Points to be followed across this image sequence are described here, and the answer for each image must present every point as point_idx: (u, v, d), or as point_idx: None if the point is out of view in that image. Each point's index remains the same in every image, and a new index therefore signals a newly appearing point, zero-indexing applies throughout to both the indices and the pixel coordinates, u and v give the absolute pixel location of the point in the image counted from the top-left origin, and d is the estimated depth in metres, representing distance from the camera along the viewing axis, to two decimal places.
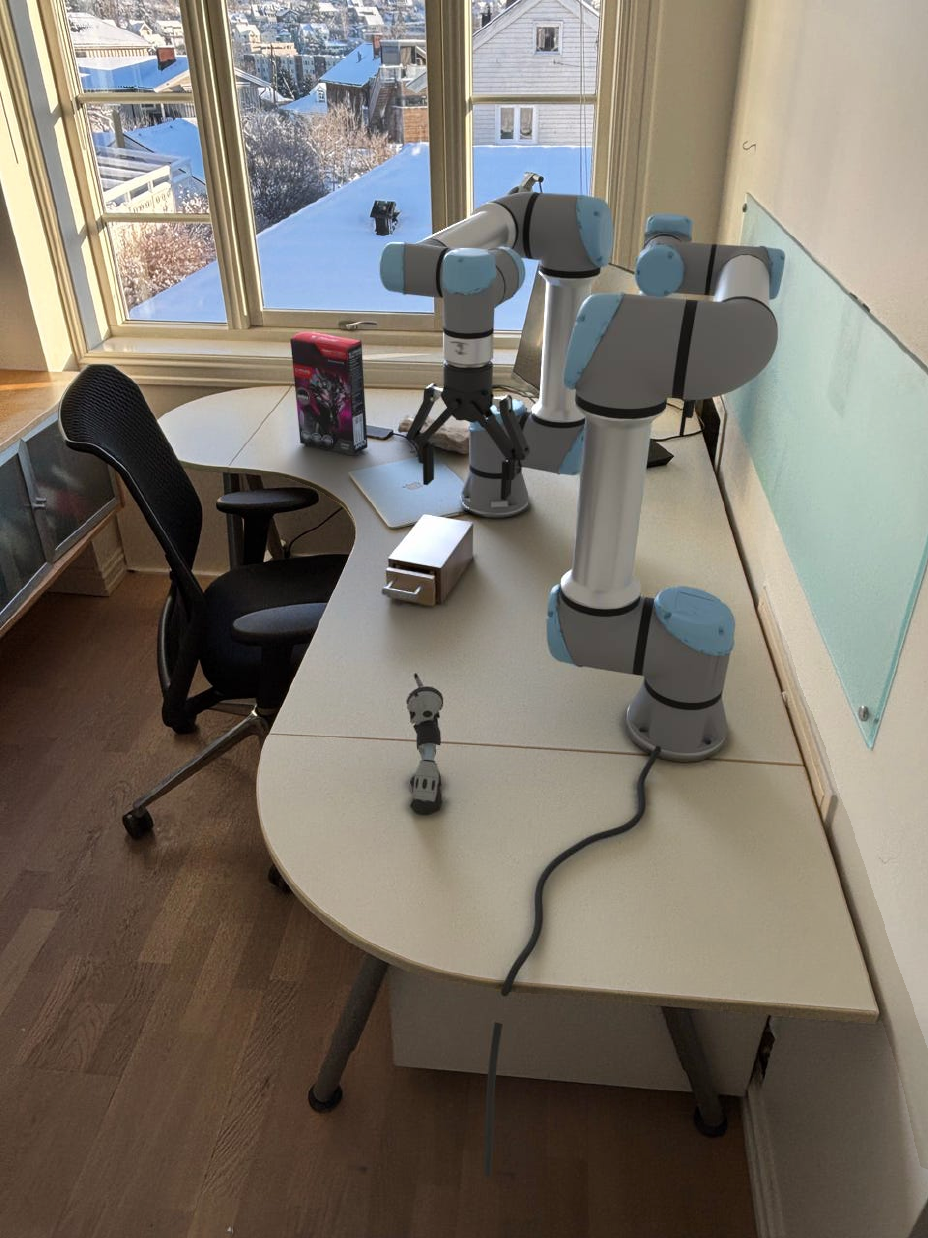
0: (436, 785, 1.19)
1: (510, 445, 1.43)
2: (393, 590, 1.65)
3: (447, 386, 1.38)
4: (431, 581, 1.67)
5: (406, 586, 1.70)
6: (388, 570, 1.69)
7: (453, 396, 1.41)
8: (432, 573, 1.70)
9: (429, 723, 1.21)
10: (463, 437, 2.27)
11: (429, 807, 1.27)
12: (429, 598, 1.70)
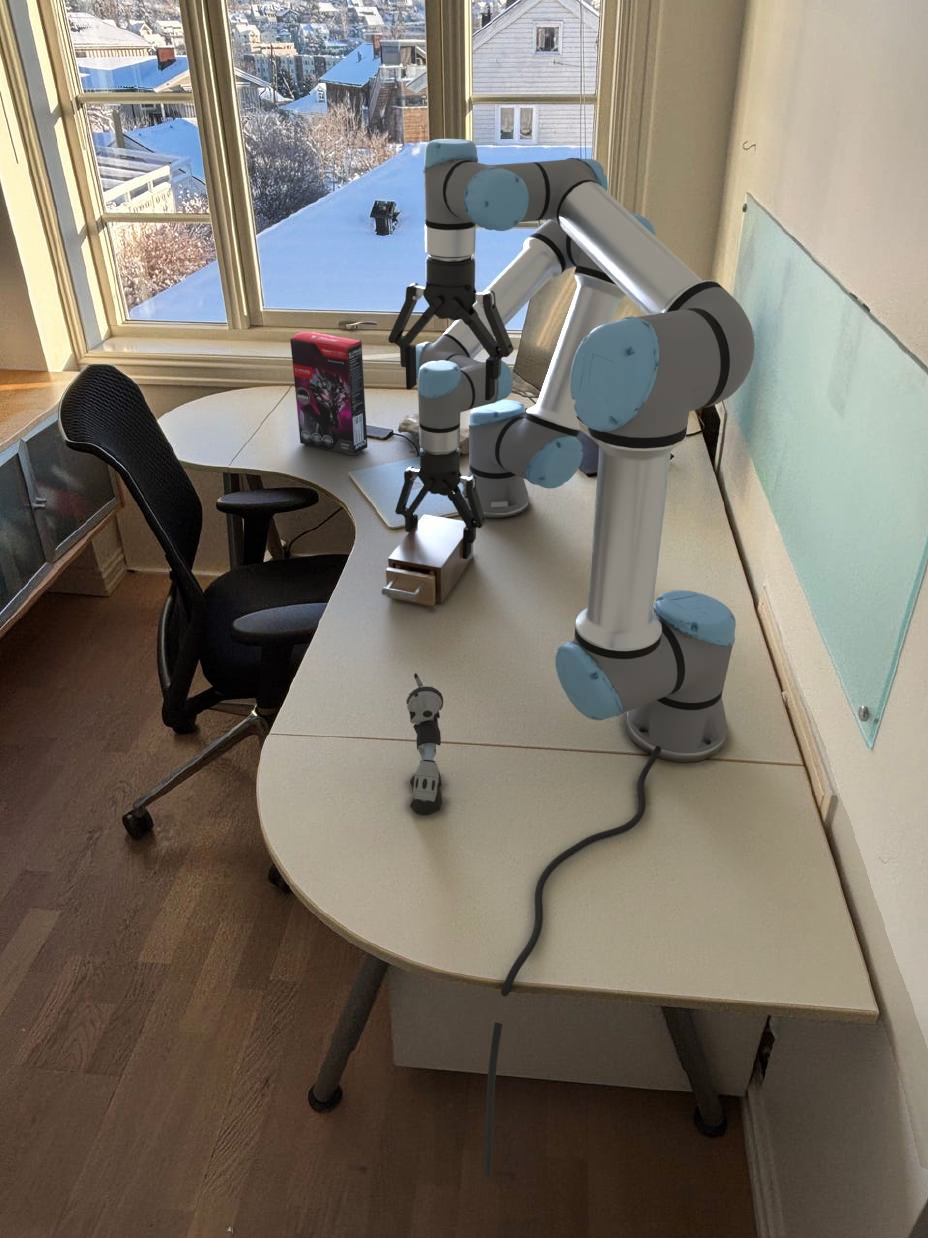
0: (436, 785, 1.19)
1: None
2: (393, 590, 1.65)
3: None
4: (431, 581, 1.67)
5: (406, 586, 1.70)
6: (388, 570, 1.69)
7: None
8: (432, 573, 1.70)
9: (429, 723, 1.21)
10: (463, 437, 2.27)
11: (429, 807, 1.27)
12: (429, 598, 1.70)
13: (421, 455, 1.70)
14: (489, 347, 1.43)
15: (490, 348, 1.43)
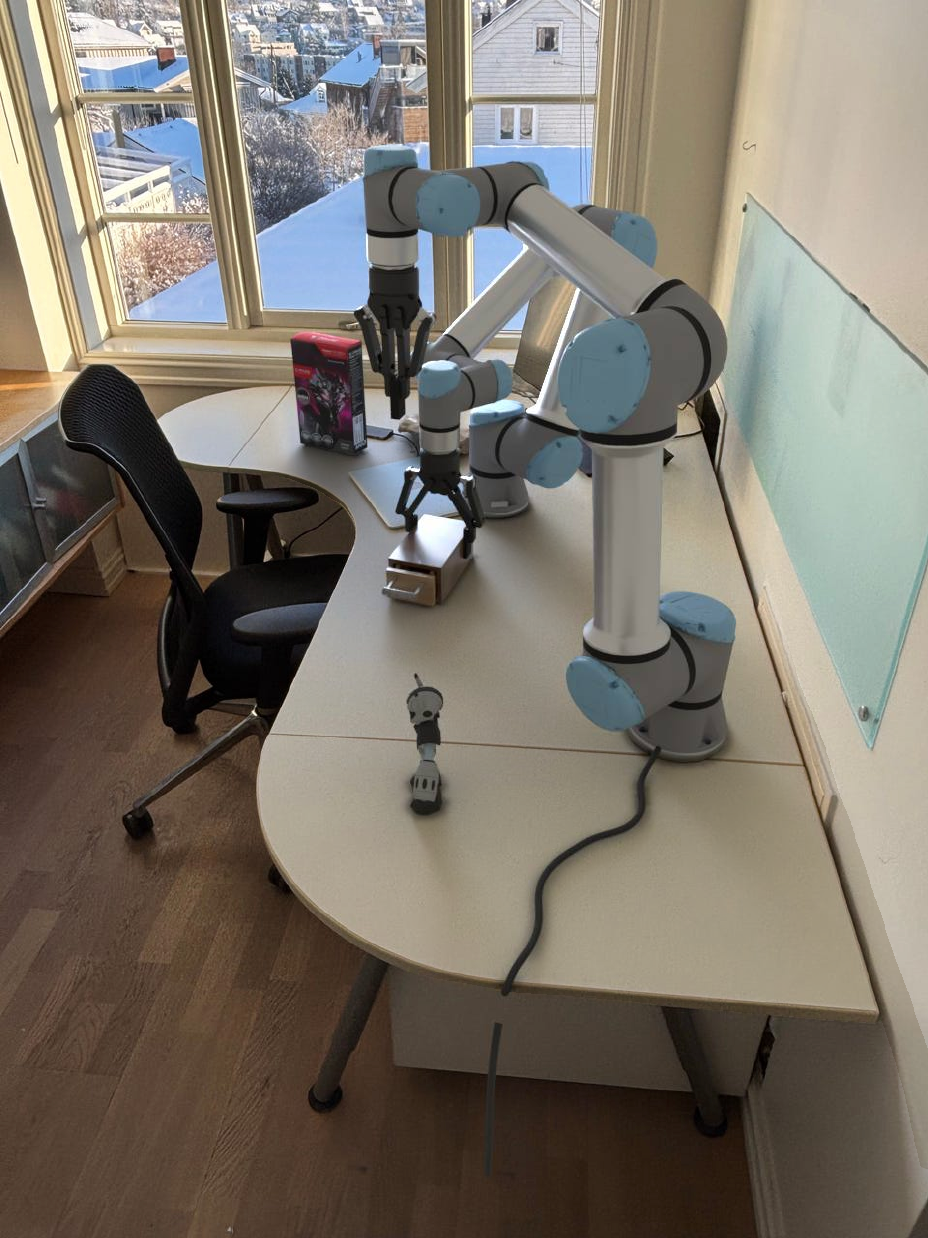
0: (436, 785, 1.19)
1: None
2: (393, 590, 1.65)
3: None
4: (431, 581, 1.67)
5: (406, 586, 1.70)
6: (388, 570, 1.69)
7: None
8: (432, 573, 1.70)
9: (429, 723, 1.21)
10: (463, 437, 2.27)
11: (429, 807, 1.27)
12: (429, 598, 1.70)
13: (421, 455, 1.70)
14: (402, 366, 1.43)
15: (402, 368, 1.43)
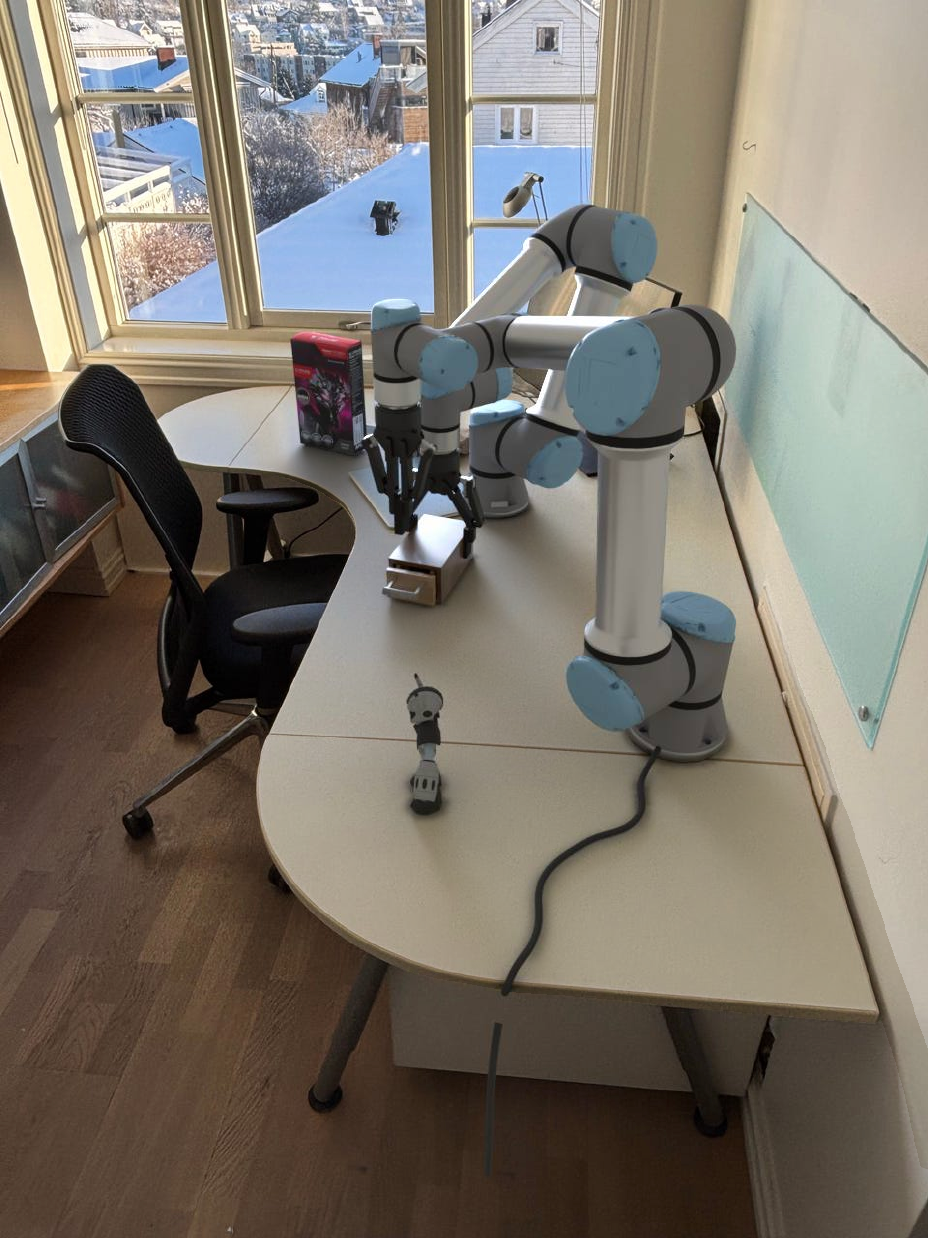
0: (436, 785, 1.19)
1: None
2: (393, 590, 1.65)
3: None
4: (431, 581, 1.67)
5: (406, 585, 1.70)
6: (388, 570, 1.69)
7: None
8: (432, 573, 1.70)
9: (429, 723, 1.21)
10: (463, 437, 2.27)
11: (429, 807, 1.27)
12: (429, 598, 1.70)
13: None
14: (405, 490, 1.54)
15: (405, 491, 1.54)
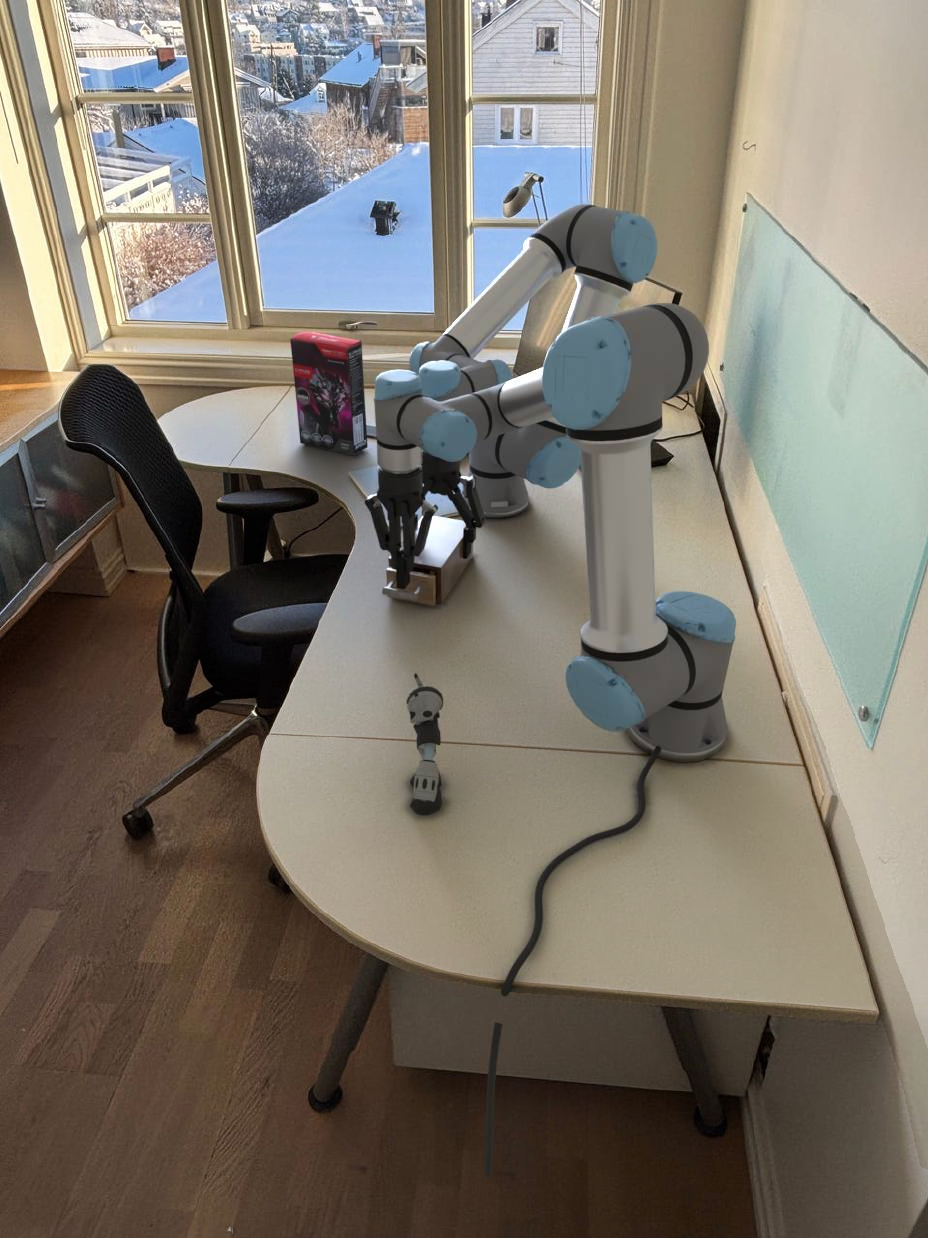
0: (436, 785, 1.19)
1: None
2: (393, 590, 1.65)
3: None
4: (431, 581, 1.67)
5: None
6: (388, 570, 1.69)
7: None
8: (432, 573, 1.70)
9: (429, 723, 1.21)
10: None
11: (429, 807, 1.27)
12: (429, 598, 1.70)
13: None
14: (407, 547, 1.61)
15: (407, 548, 1.61)
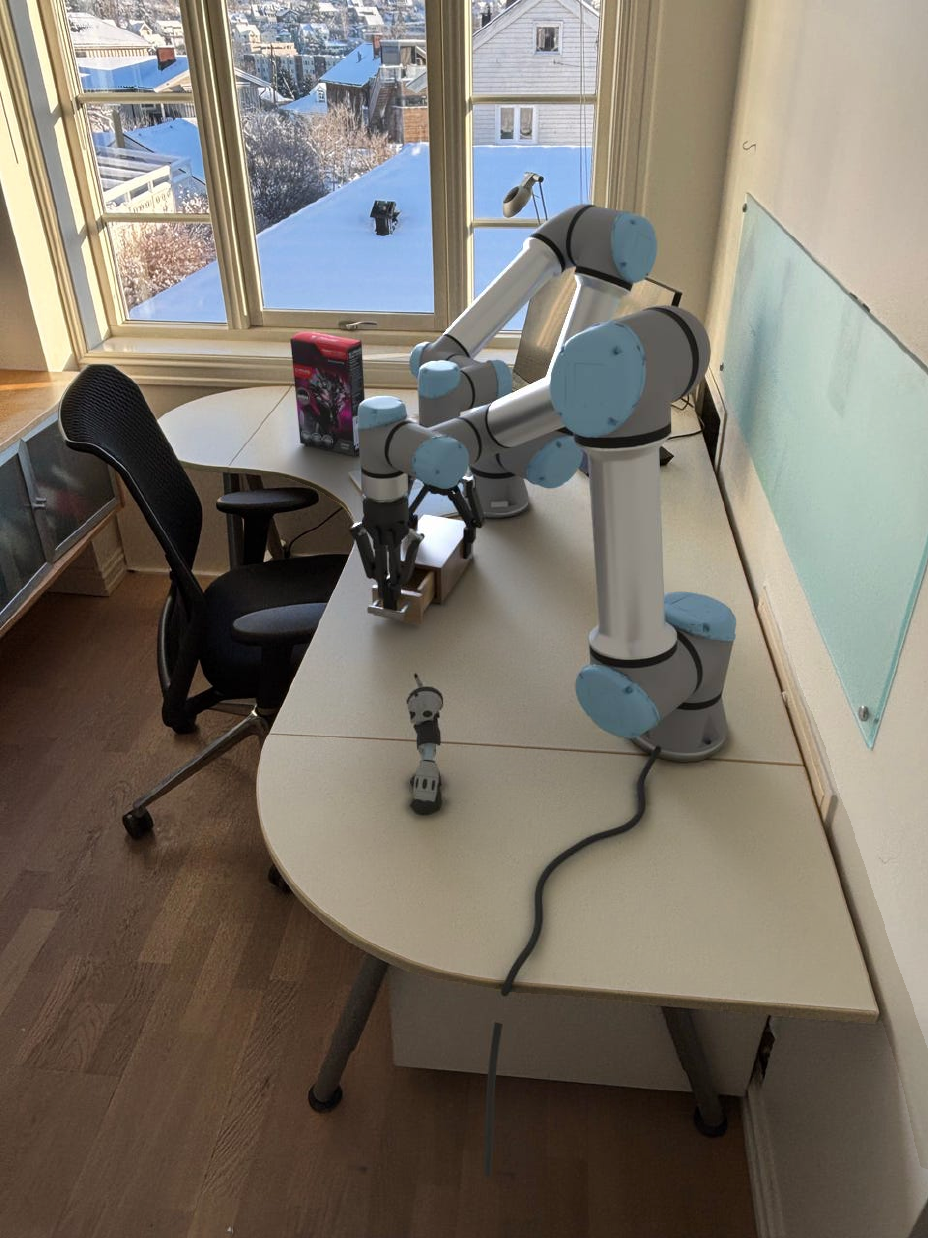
0: (436, 785, 1.19)
1: None
2: (379, 609, 1.60)
3: None
4: (418, 599, 1.62)
5: None
6: (374, 588, 1.64)
7: None
8: (419, 591, 1.64)
9: (429, 723, 1.21)
10: None
11: (429, 807, 1.27)
12: (416, 616, 1.64)
13: None
14: (394, 576, 1.56)
15: (394, 577, 1.57)
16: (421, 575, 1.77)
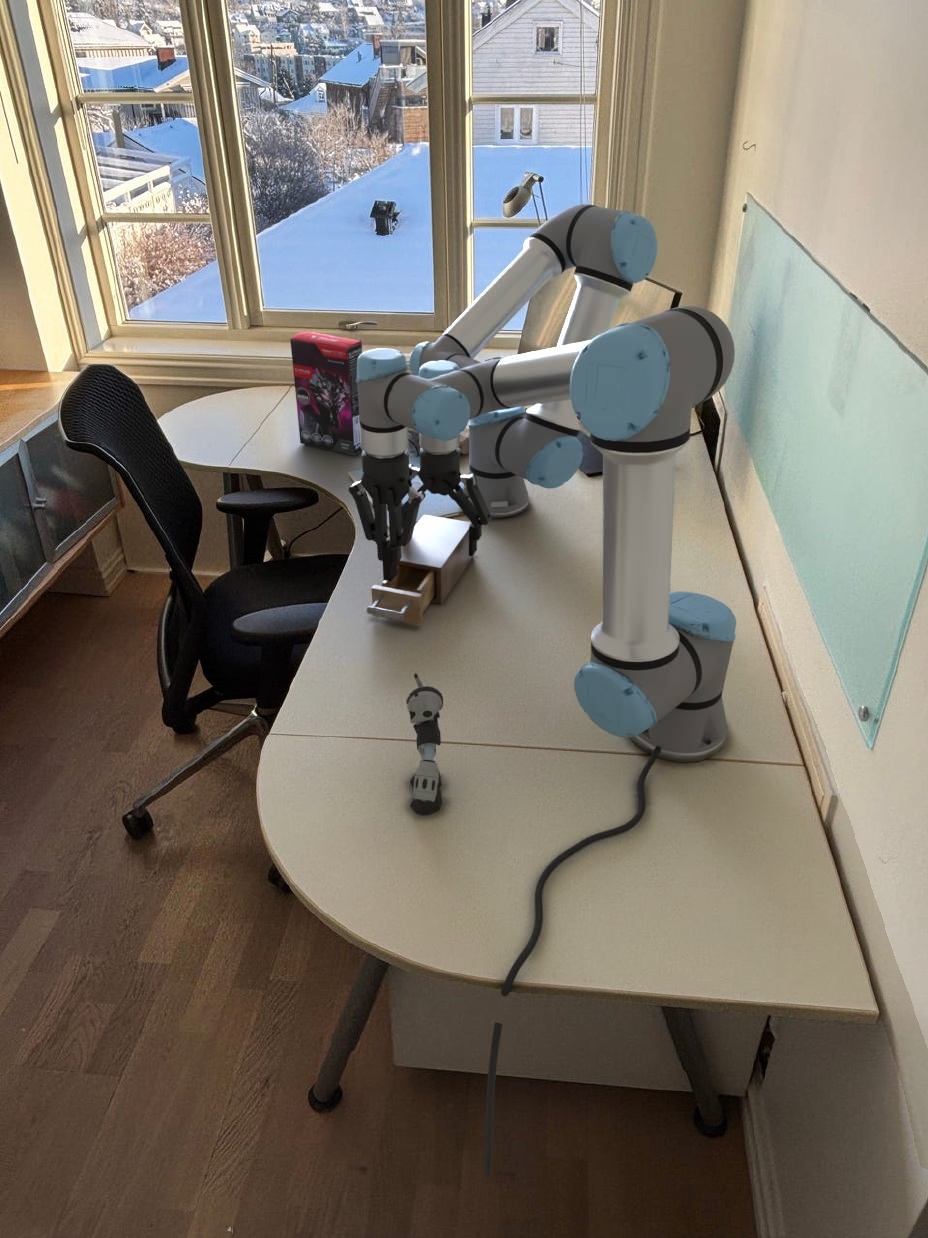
0: (436, 785, 1.19)
1: (405, 502, 1.80)
2: (378, 609, 1.60)
3: None
4: (418, 600, 1.62)
5: (392, 604, 1.65)
6: (374, 588, 1.64)
7: None
8: (419, 591, 1.64)
9: (429, 723, 1.21)
10: (463, 437, 2.27)
11: (429, 807, 1.27)
12: (416, 617, 1.64)
13: (421, 455, 1.70)
14: (394, 537, 1.53)
15: (394, 538, 1.53)
16: (421, 575, 1.77)
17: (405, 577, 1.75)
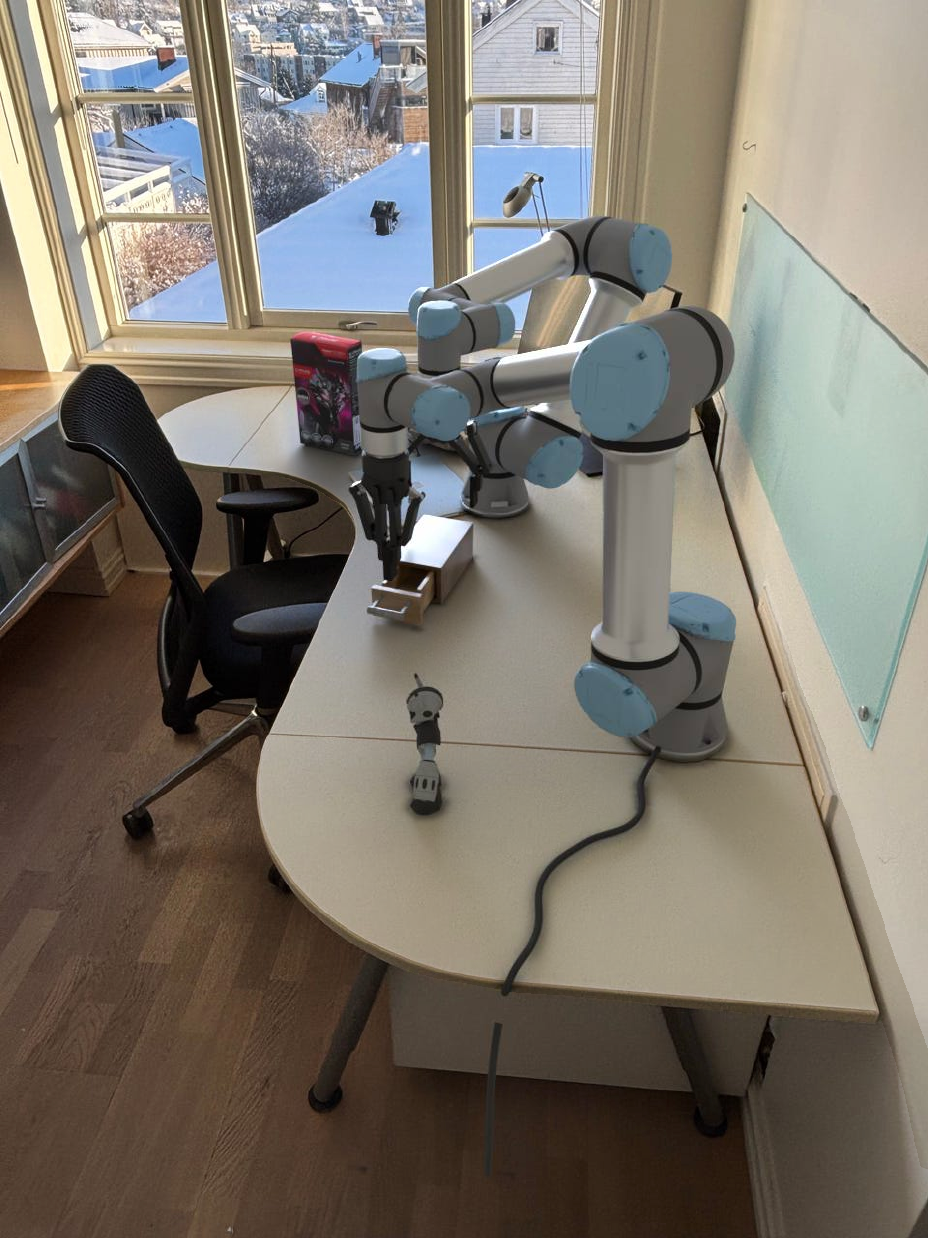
0: (436, 785, 1.19)
1: None
2: (379, 609, 1.60)
3: None
4: (418, 600, 1.62)
5: (392, 604, 1.65)
6: (374, 588, 1.64)
7: None
8: (419, 591, 1.64)
9: (429, 723, 1.21)
10: (463, 437, 2.27)
11: (429, 807, 1.27)
12: (416, 617, 1.64)
13: None
14: (394, 537, 1.53)
15: (394, 538, 1.53)
16: (421, 575, 1.77)
17: (405, 577, 1.75)
